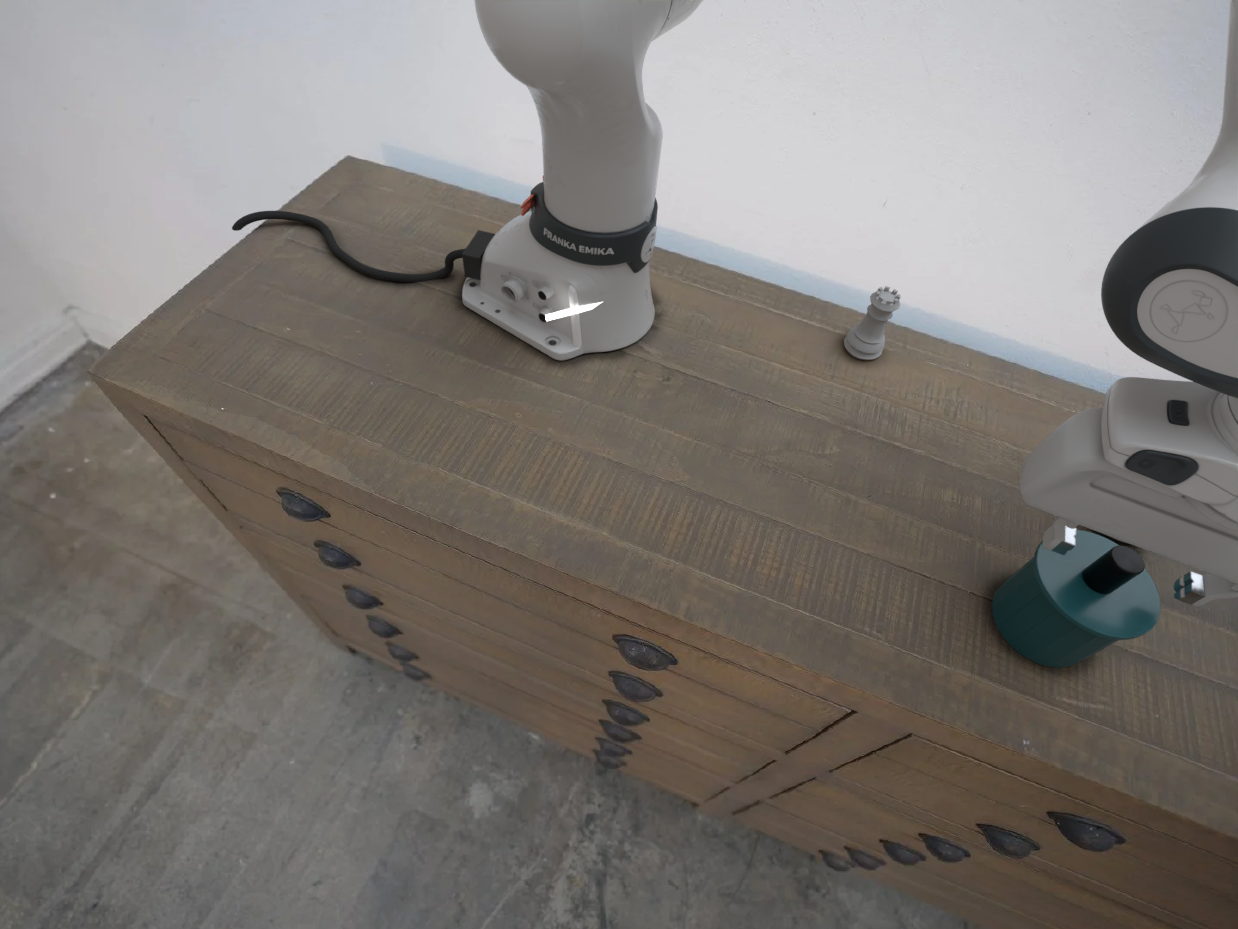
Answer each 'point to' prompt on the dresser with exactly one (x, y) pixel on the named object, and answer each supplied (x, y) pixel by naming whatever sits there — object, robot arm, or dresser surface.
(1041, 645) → the pot
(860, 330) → the rook chess piece
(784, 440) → the dresser surface
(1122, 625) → the pot lid
